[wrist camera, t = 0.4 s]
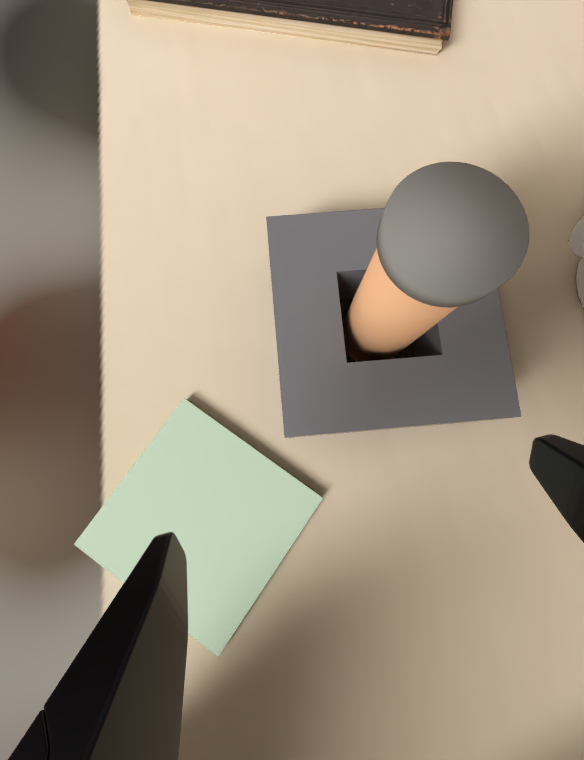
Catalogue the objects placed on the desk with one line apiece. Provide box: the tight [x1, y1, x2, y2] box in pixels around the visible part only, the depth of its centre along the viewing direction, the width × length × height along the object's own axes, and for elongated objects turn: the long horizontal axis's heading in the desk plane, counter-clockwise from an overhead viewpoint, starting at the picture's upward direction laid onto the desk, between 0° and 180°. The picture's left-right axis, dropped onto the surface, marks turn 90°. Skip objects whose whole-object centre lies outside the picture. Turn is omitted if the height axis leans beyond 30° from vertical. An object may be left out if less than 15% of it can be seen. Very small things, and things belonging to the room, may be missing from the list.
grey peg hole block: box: [266, 208, 521, 438], centre depth 22 cm, size 12×12×4 cm
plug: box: [342, 162, 529, 362], centre depth 18 cm, size 5×5×12 cm
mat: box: [75, 399, 323, 657], centre depth 21 cm, size 10×10×1 cm
